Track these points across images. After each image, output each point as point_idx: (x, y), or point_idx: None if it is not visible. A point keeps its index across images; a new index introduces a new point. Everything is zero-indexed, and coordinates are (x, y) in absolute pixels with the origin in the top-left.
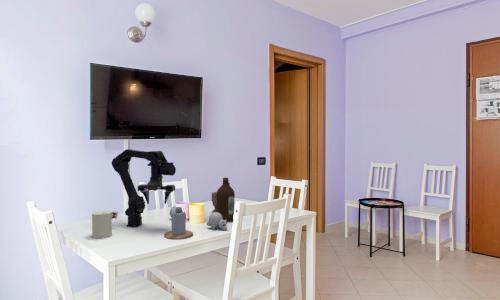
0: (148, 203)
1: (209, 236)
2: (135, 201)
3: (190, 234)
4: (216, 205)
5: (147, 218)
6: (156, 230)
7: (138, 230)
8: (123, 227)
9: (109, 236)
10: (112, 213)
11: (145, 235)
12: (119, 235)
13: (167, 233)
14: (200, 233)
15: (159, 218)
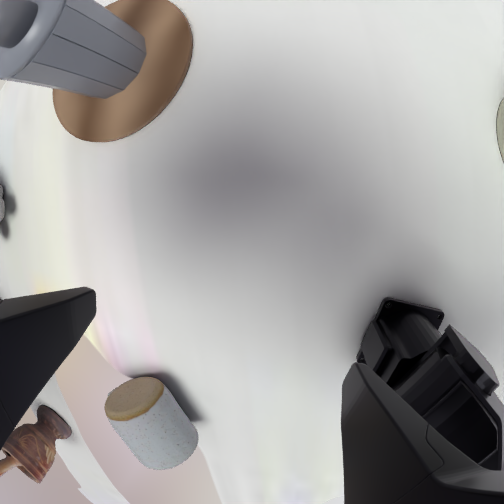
0: (348, 376)
1: None
2: (486, 411)
3: None
4: (35, 430)
5: (319, 446)
6: (254, 183)
7: (380, 206)
8: (456, 298)
9: (500, 105)
10: None
11: (317, 66)
12: (466, 114)
13: (169, 59)
14: (34, 112)
15: (259, 440)
